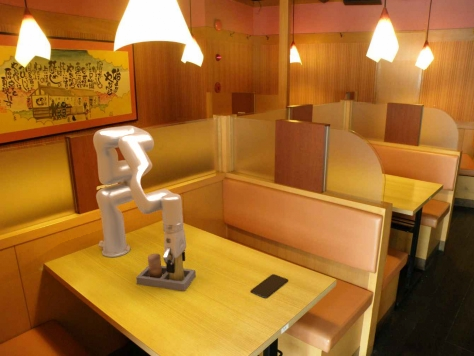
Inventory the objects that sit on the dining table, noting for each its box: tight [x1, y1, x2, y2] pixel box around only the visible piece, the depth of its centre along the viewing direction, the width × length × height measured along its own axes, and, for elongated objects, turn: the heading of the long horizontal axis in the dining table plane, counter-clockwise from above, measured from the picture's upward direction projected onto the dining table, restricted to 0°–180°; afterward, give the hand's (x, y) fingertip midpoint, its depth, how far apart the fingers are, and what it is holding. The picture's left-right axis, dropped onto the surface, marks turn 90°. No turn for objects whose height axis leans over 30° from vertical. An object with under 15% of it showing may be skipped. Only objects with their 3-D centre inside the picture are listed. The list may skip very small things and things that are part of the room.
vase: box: [169, 253, 185, 282], centre depth 150 cm, size 6×6×14 cm
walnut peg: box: [147, 253, 163, 278], centre depth 154 cm, size 5×5×10 cm
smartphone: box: [249, 274, 289, 299], centre depth 148 cm, size 8×1×16 cm
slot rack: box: [135, 265, 197, 292], centre depth 153 cm, size 20×11×3 cm, turn 74°
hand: (176, 266), depth 150 cm, fingers open, 9 cm apart
